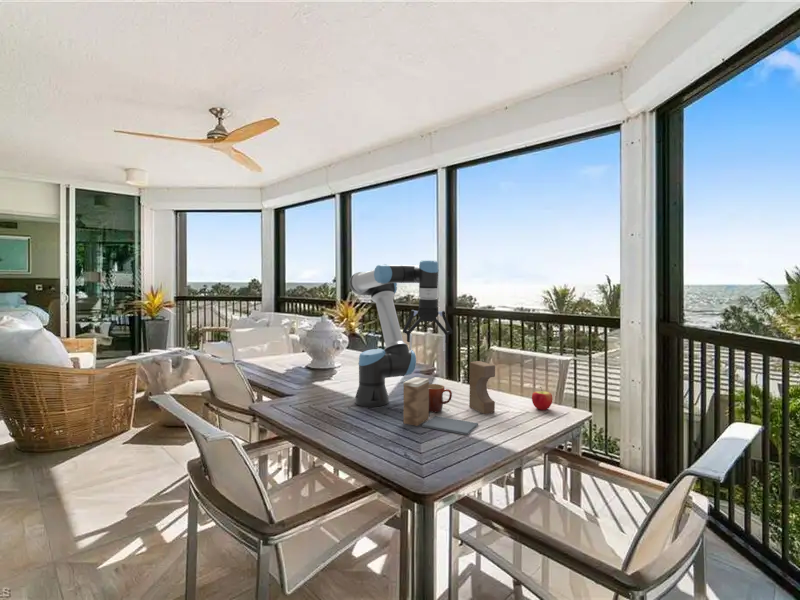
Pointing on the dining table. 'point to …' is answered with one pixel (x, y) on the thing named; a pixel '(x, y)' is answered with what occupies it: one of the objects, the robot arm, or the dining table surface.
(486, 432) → the dining table surface
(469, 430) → the mat
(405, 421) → the brown and cream block
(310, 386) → the dining table surface
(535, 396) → the apple
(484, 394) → the decorative block
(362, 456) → the dining table surface
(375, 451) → the dining table surface
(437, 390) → the mug
